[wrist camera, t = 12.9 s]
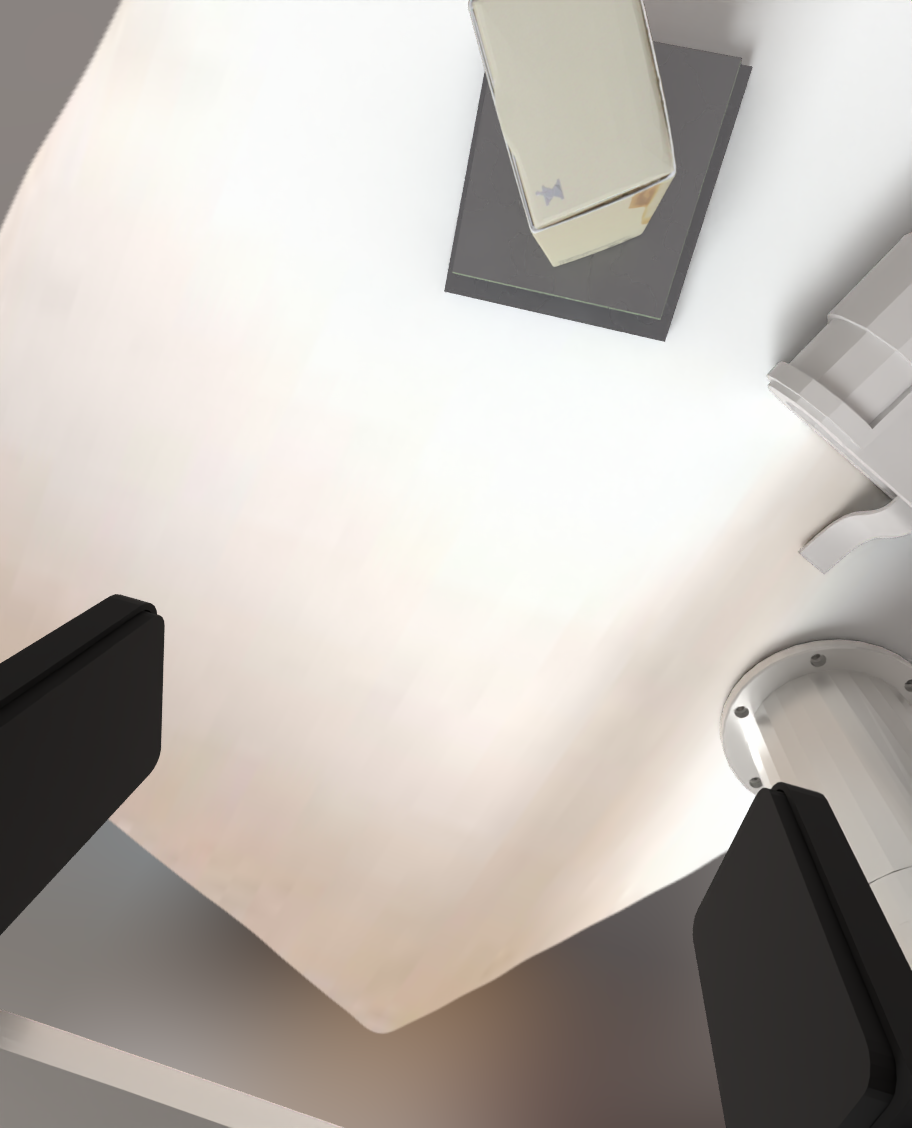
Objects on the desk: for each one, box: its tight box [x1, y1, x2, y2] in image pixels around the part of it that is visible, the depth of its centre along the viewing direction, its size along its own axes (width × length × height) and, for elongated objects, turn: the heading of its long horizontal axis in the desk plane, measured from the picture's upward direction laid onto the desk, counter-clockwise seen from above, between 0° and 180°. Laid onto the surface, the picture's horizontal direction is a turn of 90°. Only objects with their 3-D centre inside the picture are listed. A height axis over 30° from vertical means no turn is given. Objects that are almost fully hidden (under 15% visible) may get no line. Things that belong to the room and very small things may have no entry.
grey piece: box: [444, 42, 752, 342], centre depth 31 cm, size 12×12×5 cm
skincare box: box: [468, 0, 677, 267], centre depth 23 cm, size 6×4×12 cm
